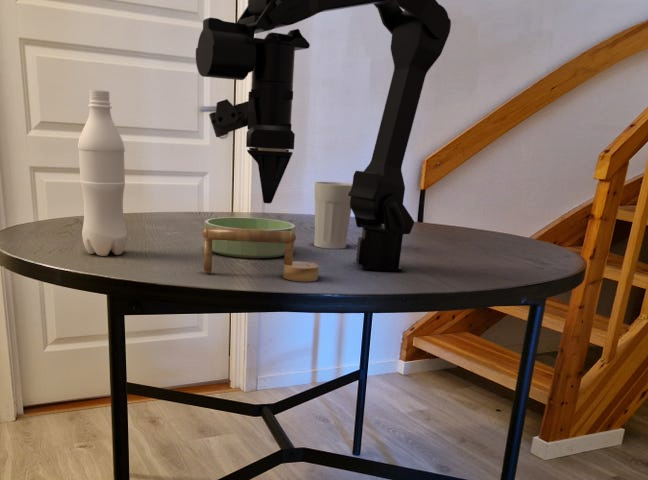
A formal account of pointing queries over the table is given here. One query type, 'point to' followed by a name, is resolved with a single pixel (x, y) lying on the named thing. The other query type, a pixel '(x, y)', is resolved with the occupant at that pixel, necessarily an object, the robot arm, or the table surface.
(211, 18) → the robot arm
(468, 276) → the table surface
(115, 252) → the water bottle
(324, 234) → the cup
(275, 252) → the bowl
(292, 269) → the wooden dowel frame
